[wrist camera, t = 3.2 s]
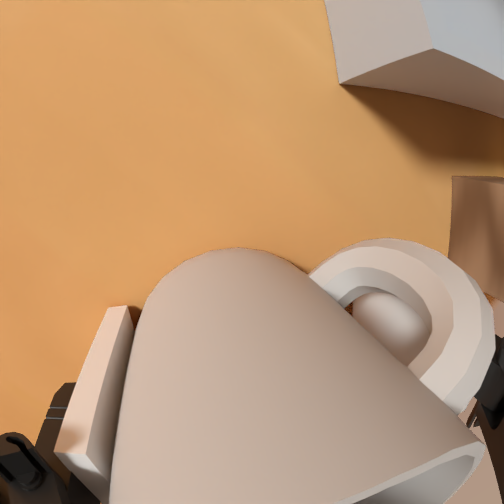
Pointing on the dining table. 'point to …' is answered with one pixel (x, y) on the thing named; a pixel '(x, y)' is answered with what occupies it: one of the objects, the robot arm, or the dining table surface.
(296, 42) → the dining table surface
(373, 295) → the robot arm
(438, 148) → the dining table surface
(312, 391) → the cup
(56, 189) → the dining table surface
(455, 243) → the walnut cube
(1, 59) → the dining table surface
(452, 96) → the tote
